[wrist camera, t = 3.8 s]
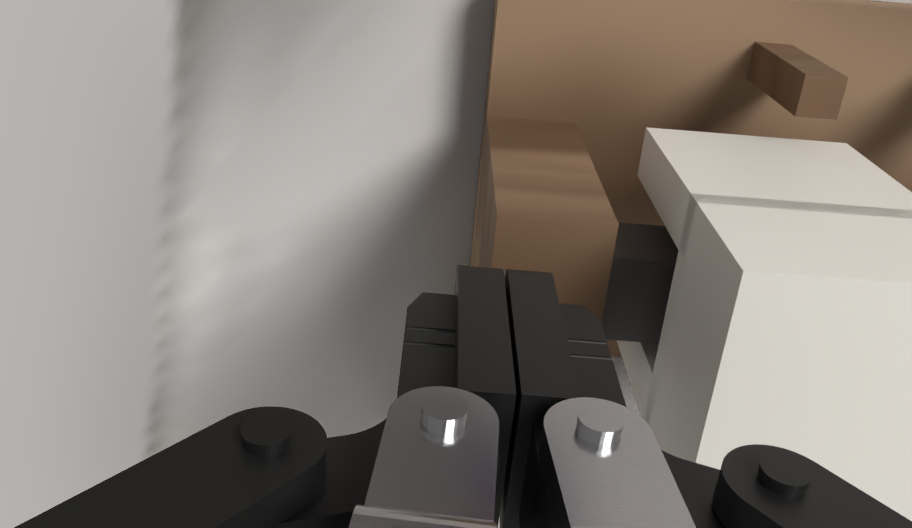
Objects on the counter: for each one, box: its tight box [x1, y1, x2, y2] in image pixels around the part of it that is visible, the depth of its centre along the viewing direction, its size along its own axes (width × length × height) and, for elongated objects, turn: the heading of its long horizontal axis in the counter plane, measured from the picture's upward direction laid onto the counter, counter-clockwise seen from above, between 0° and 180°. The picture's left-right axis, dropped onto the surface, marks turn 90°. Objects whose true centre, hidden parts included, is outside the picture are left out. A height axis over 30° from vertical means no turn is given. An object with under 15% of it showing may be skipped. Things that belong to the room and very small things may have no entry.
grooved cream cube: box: [617, 127, 912, 521], centre depth 15 cm, size 4×4×6 cm
